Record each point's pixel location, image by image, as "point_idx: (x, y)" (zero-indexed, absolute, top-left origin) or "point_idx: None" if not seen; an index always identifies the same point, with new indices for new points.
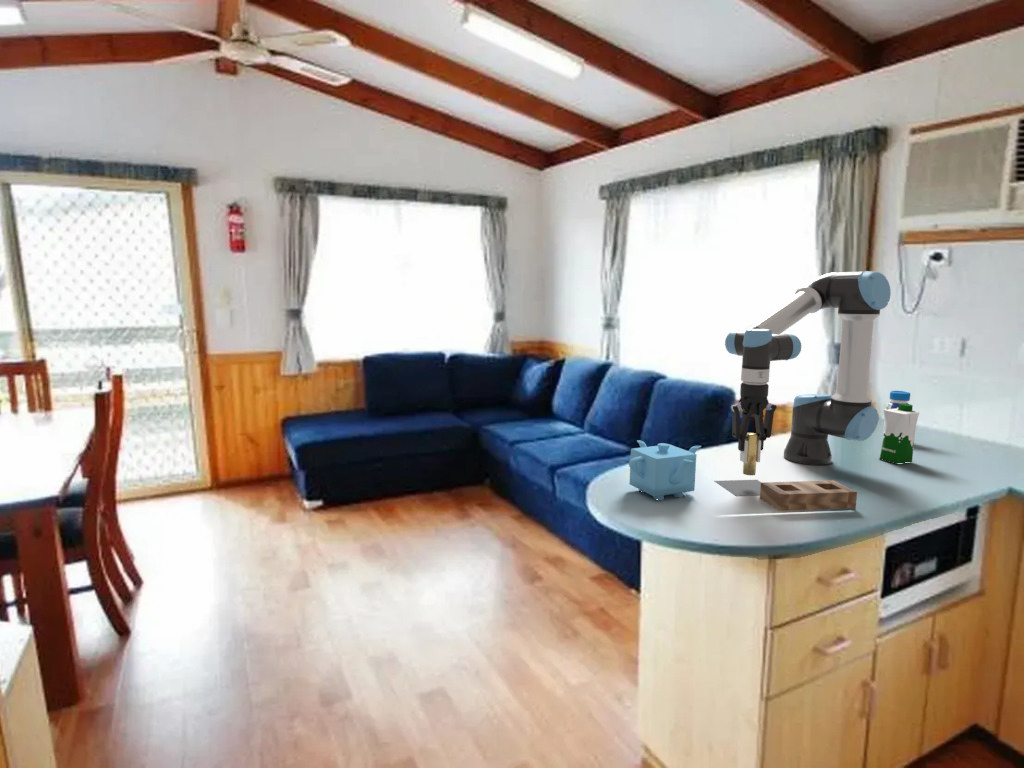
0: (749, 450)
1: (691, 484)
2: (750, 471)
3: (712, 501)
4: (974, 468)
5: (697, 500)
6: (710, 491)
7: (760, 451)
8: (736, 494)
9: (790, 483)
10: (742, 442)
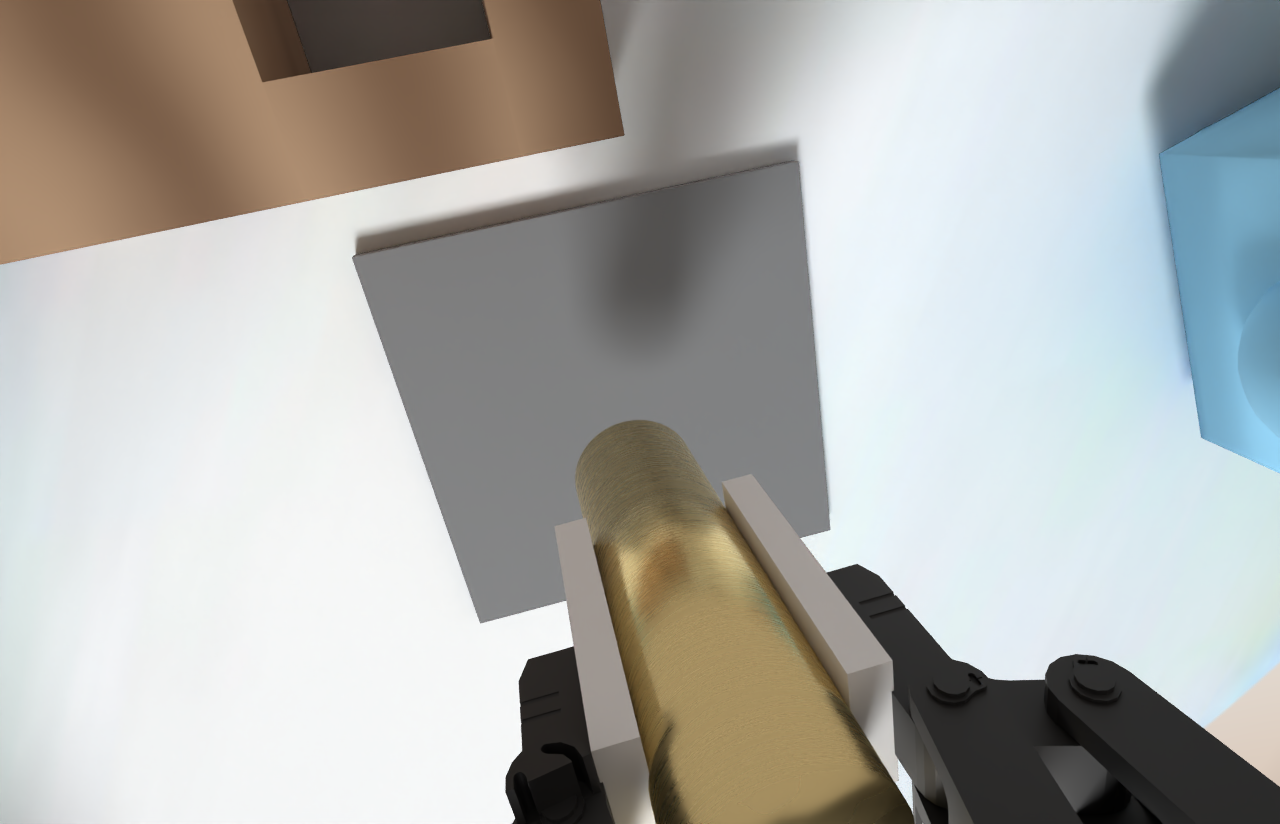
0: (751, 574)
1: (1251, 136)
2: (651, 436)
3: (1023, 41)
4: None
5: (1128, 58)
6: (932, 309)
7: (570, 613)
8: (778, 211)
9: (259, 132)
10: (912, 657)
